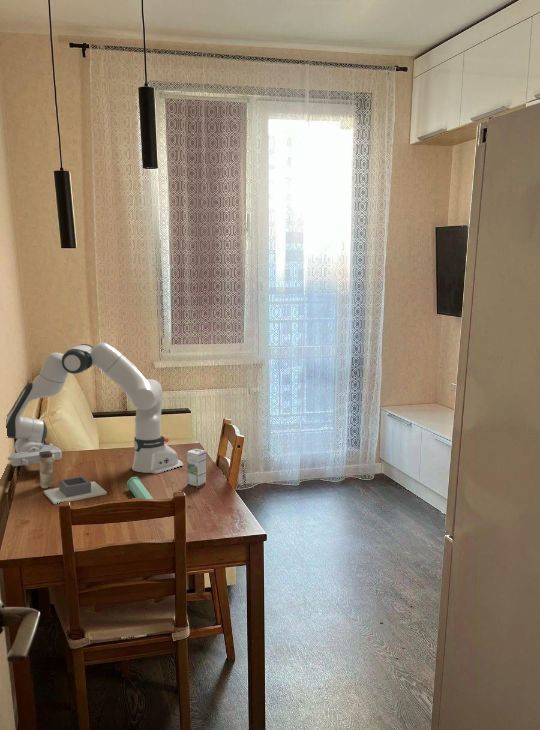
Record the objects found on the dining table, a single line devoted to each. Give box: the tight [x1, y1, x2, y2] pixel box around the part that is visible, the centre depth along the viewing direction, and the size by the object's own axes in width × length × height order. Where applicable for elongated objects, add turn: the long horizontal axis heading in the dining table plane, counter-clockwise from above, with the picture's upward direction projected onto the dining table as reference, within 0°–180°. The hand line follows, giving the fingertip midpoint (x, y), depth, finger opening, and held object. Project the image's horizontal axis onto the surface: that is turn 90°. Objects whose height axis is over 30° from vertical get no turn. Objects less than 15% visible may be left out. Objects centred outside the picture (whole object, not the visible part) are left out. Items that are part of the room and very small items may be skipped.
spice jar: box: [38, 451, 54, 489], centre depth 241 cm, size 4×4×14 cm
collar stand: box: [43, 475, 108, 505], centre depth 234 cm, size 20×14×5 cm
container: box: [126, 476, 154, 499], centre depth 229 cm, size 6×6×25 cm
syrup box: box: [186, 448, 207, 486], centre depth 247 cm, size 6×6×14 cm
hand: (40, 461), depth 248 cm, fingers open, 8 cm apart
